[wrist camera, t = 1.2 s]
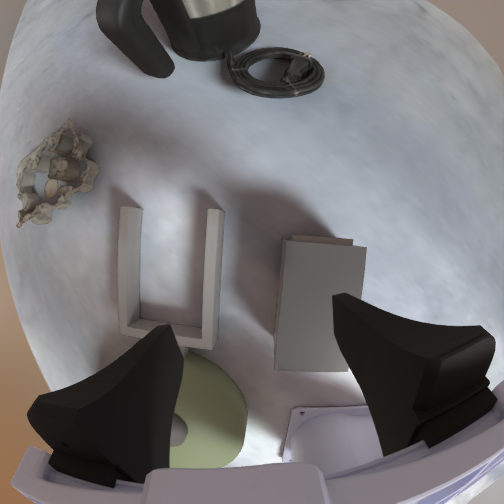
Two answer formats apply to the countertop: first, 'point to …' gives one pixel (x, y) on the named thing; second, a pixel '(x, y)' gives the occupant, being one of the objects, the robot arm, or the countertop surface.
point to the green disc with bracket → (188, 354)
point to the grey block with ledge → (313, 300)
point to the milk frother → (205, 41)
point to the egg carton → (55, 173)
